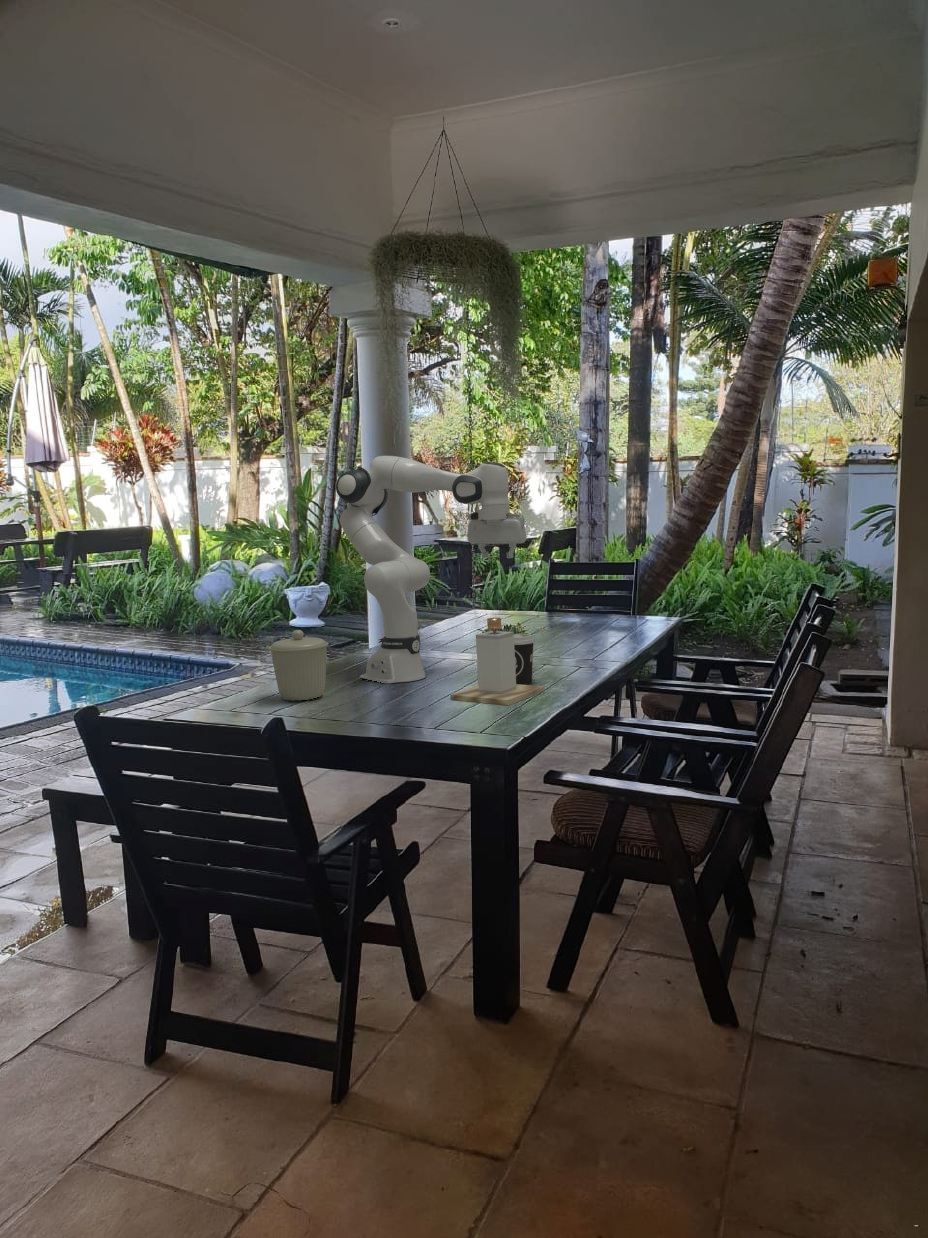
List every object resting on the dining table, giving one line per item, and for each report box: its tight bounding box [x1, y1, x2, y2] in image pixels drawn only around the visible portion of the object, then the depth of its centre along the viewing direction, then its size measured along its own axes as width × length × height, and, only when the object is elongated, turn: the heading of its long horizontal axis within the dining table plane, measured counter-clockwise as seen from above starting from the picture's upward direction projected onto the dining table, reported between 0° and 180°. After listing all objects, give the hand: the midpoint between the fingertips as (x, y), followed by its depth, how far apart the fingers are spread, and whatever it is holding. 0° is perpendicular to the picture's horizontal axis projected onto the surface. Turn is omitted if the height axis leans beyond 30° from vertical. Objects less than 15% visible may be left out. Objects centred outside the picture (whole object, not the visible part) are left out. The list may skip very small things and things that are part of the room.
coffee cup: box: [514, 633, 536, 685], centre depth 303 cm, size 10×10×15 cm
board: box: [449, 684, 545, 706], centre depth 288 cm, size 20×20×2 cm
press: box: [475, 630, 516, 694], centre depth 288 cm, size 8×11×17 cm
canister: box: [267, 629, 329, 701], centre depth 298 cm, size 18×18×21 cm
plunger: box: [486, 617, 502, 634], centre depth 286 cm, size 6×6×20 cm
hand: (497, 557), depth 309 cm, fingers open, 8 cm apart
